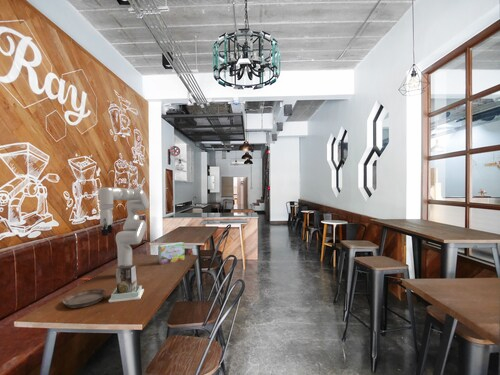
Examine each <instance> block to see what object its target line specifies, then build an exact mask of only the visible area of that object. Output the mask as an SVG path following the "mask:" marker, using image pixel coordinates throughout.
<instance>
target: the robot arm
mask: <svg viewBox="0 0 500 375" xmlns="http://www.w3.org/2000/svg"><path fill="white" fill-rule="evenodd" d="M97 195H98V197H99V210H100V218H99V226H101V236H102V237H105V236H108V235H109V234H113V219H114V218H113V210H114V200H117V201H127V202H126V212H127V218H126V219H125V221H124V224H123V227H122V229H123V230H122V231H119V232H117V233H116V235H115V243H116V248H117V250H116V251H117V268H118V267H119V266H121V265H134V264H133V248H132V247H131V245H139V244H141V242H142V241H143V238H144V235H145V232H146V230H147V223H146V221H145V220H144V219H140V215H139V214H138V213H137V211H147V210H149V208H150V200H149V198H148V196H147V193H146V192H145V191H144V190H143V189H142V188H126V187H114V186H112V187H109V186H108V187H100V189H99V190H98V193H97Z"/></svg>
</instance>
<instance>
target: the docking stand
mask: <svg viewBox="0 0 500 375" xmlns="http://www.w3.org/2000/svg"><path fill="white" fill-rule="evenodd" d="M142 287H143V285H137V292H131V293H121V294H117V287H116V288H115V289H114V291H113V292H112V293H111V294H110V298H109V299H108V303H117V302H127V301H134V300H141V297H142V296H143V293H144V292H145V288H142Z"/></svg>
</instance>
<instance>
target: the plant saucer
mask: <svg viewBox="0 0 500 375" xmlns="http://www.w3.org/2000/svg"><path fill="white" fill-rule="evenodd" d="M106 295H107V290H106V289H101V288H93V289H86V290H81V291H78V292H75V293H72V294H70V295H68V296H66V297H65V298H63V299H62V303H63V304H64V306H66V307H68V308H70V309H71V308H72V309H73V308H75V309H77V308H85V307H89V306H92V305H95V304H97V303H99V302H100V301H102V300H103V299H104V297H105V296H106Z"/></svg>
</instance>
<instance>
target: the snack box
mask: <svg viewBox="0 0 500 375" xmlns="http://www.w3.org/2000/svg"><path fill="white" fill-rule="evenodd" d="M157 252H158V253H157V254H158V255H157V257H158V258H157V259H158V260H157V262H158V265H166V263H167V264H171V262H172V263H177V262H180V261H181V260H182V261H184V260H185V242H182V241H179V242H172V243H166V244H160V245H157Z"/></svg>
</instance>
